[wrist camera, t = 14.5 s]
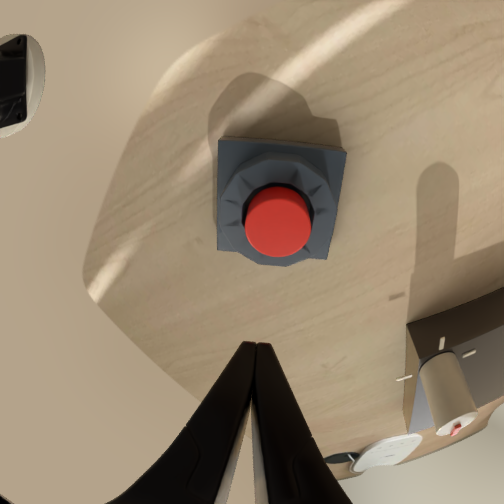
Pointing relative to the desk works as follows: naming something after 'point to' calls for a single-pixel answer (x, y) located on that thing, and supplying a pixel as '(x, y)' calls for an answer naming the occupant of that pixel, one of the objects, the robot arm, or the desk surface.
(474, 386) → the hob panel
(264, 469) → the robot arm
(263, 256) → the button box
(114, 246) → the desk surface
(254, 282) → the desk surface
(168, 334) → the desk surface
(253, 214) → the button
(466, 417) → the stove knob
